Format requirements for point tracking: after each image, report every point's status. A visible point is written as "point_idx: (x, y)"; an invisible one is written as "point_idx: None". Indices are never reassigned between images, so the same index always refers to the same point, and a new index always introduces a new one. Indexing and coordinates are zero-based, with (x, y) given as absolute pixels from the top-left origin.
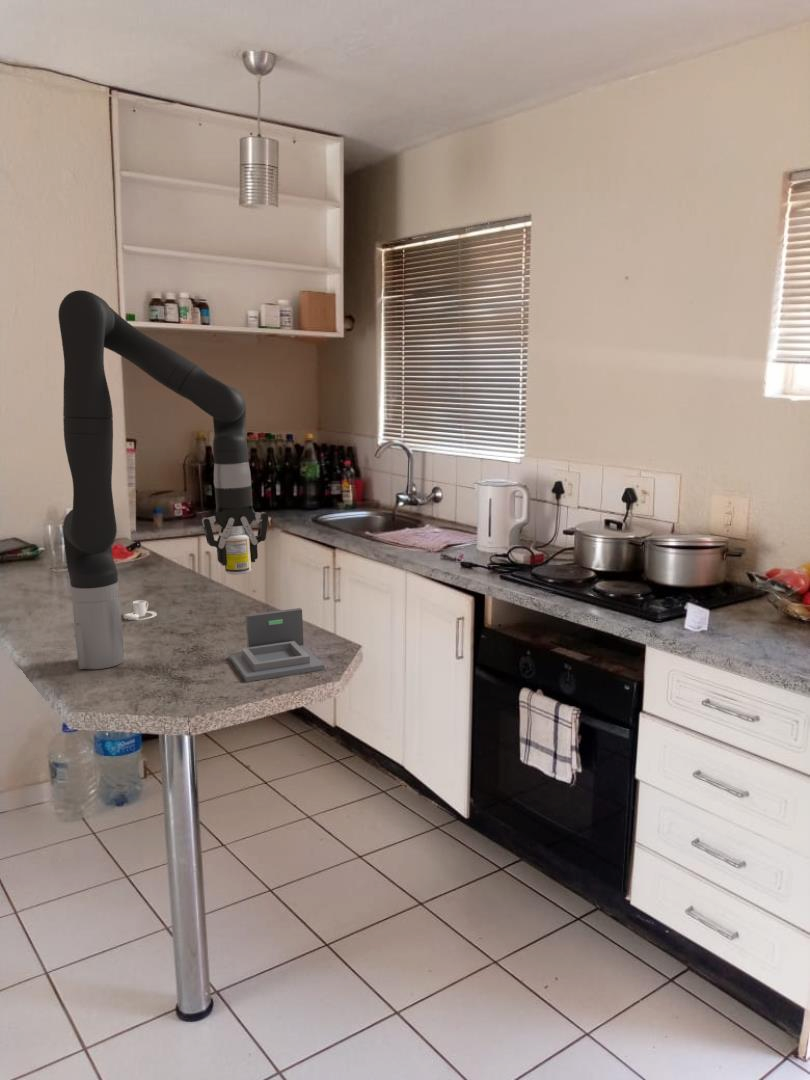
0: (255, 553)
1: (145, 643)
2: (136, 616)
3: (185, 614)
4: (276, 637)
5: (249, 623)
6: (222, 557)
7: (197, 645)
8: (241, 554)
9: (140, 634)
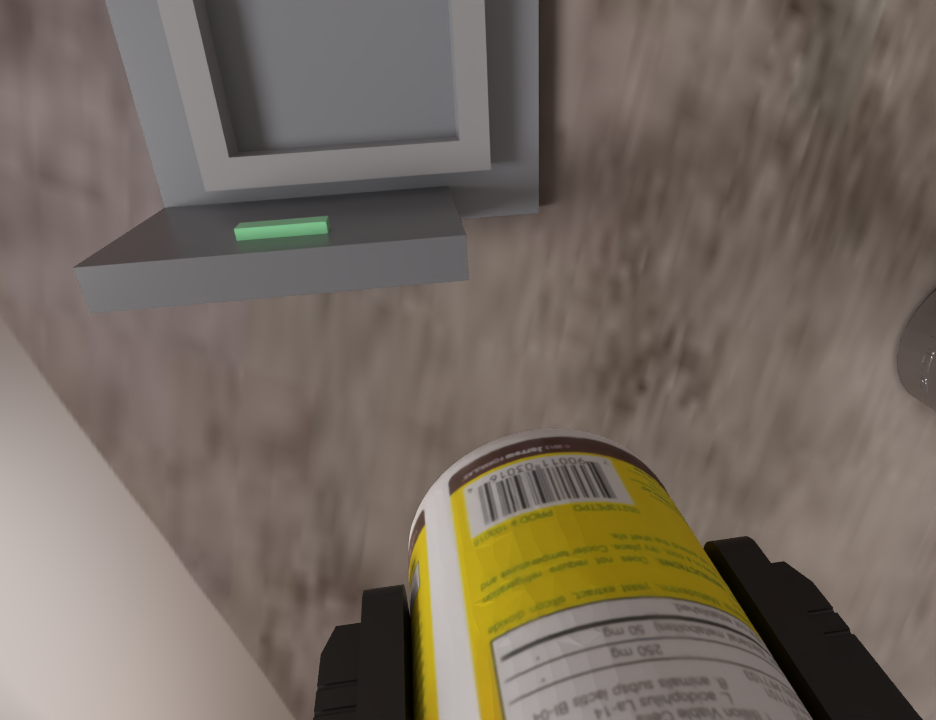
0: (346, 692)
1: (772, 489)
2: None
3: None
4: (297, 211)
5: (449, 222)
6: (802, 611)
7: (615, 414)
8: (583, 598)
9: None
